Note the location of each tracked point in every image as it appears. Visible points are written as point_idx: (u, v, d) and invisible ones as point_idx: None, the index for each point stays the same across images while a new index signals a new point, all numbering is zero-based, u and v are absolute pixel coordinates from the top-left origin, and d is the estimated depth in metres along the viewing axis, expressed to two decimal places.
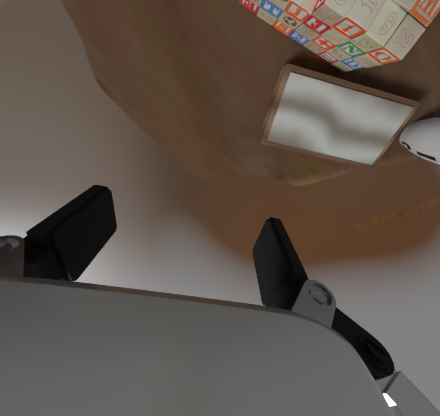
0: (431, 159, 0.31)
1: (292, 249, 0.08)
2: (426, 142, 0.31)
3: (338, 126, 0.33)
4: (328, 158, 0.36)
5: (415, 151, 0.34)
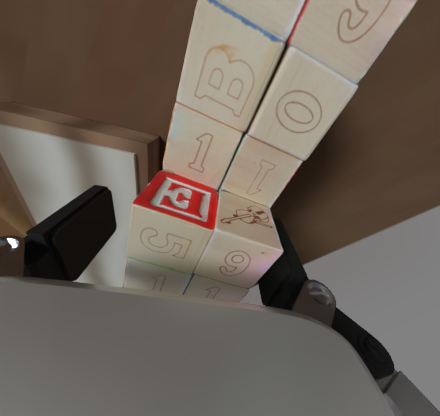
0: None
1: (292, 249, 0.08)
2: None
3: None
4: None
5: None
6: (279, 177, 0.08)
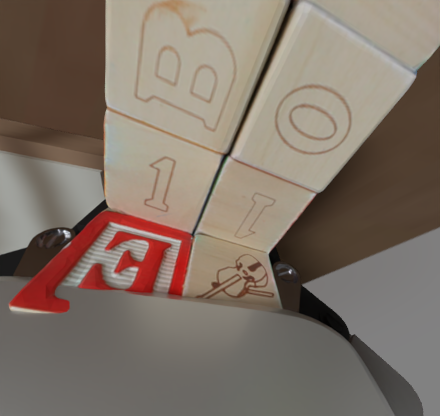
0: None
1: None
2: None
3: None
4: None
5: None
6: (281, 216, 0.06)
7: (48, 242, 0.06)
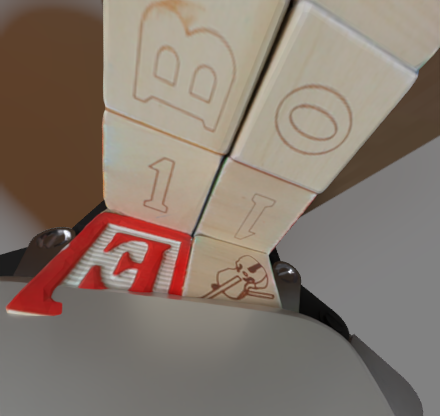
0: None
1: None
2: None
3: None
4: None
5: None
6: (281, 216, 0.05)
7: (48, 242, 0.06)
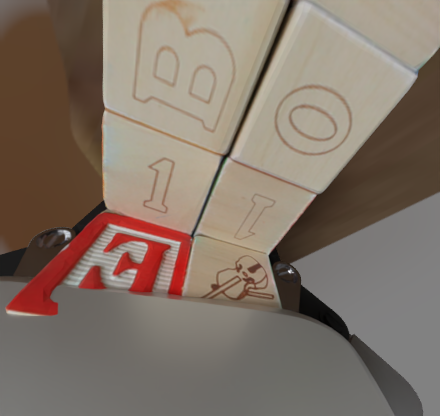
0: None
1: None
2: None
3: None
4: None
5: None
6: (281, 217, 0.05)
7: (48, 242, 0.06)
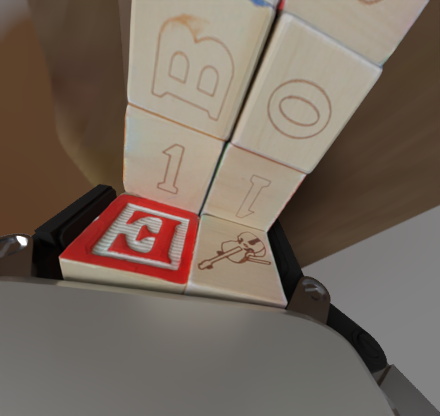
0: None
1: (288, 246, 0.08)
2: None
3: None
4: None
5: None
6: (276, 196, 0.06)
7: None
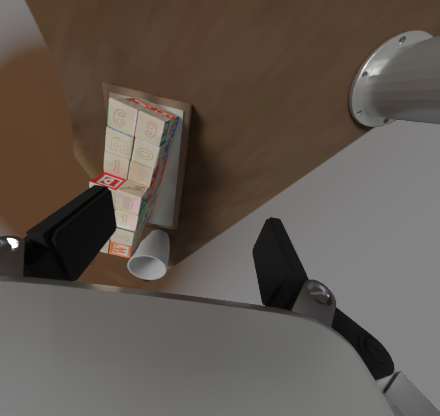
0: (133, 254, 0.37)
1: (292, 249, 0.08)
2: (146, 245, 0.37)
3: None
4: None
5: None
6: (147, 174, 0.23)
7: None
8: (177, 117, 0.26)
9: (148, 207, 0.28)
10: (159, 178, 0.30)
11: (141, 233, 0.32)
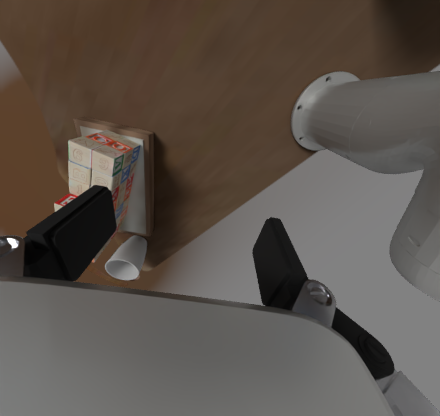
0: None
1: (292, 249, 0.08)
2: (121, 250, 0.43)
3: None
4: None
5: None
6: None
7: None
8: (136, 147, 0.30)
9: None
10: (124, 195, 0.35)
11: (109, 240, 0.37)
